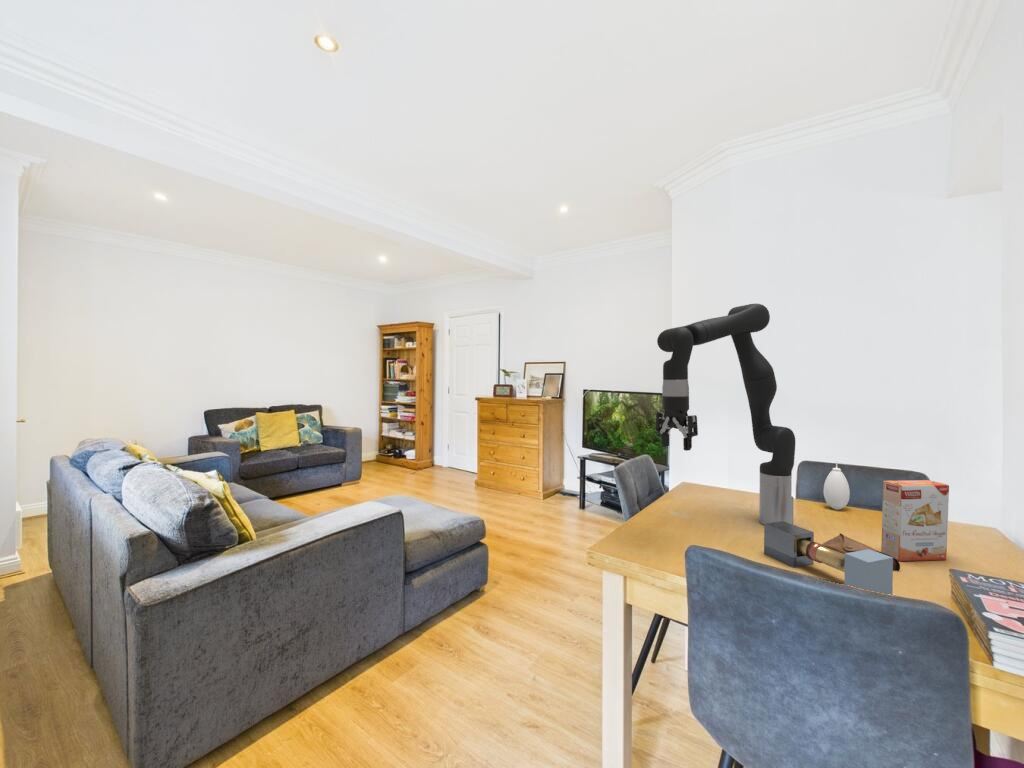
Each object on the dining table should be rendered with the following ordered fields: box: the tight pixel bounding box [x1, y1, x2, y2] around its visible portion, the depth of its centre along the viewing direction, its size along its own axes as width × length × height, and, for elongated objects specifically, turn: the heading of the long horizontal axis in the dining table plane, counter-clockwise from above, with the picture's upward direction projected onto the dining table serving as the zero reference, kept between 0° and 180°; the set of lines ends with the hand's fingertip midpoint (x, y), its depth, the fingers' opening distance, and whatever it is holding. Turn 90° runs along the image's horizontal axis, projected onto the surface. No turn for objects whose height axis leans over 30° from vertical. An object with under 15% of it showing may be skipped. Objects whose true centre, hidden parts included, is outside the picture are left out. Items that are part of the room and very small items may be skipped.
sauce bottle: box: [823, 461, 851, 511], centre depth 160 cm, size 8×8×18 cm
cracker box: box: [880, 479, 950, 562], centre depth 118 cm, size 14×6×21 cm, turn 94°
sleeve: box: [763, 521, 815, 568], centre depth 117 cm, size 7×9×9 cm
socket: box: [844, 549, 894, 595], centre depth 98 cm, size 8×5×9 cm, turn 108°
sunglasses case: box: [821, 532, 901, 572], centre depth 118 cm, size 18×7×7 cm, turn 6°
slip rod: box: [797, 538, 845, 573], centre depth 112 cm, size 5×19×5 cm, turn 18°
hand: (676, 448), depth 129 cm, fingers open, 8 cm apart
